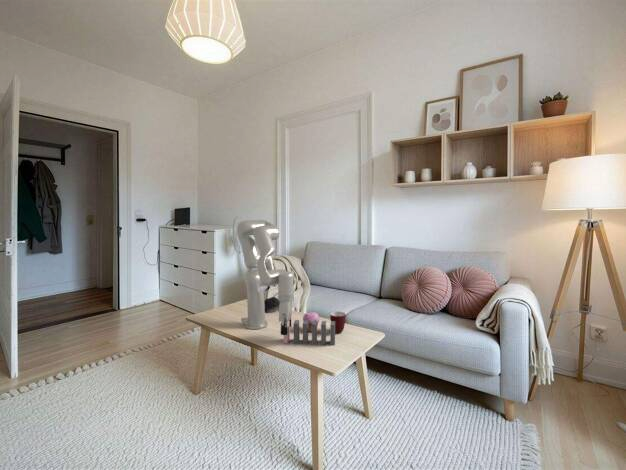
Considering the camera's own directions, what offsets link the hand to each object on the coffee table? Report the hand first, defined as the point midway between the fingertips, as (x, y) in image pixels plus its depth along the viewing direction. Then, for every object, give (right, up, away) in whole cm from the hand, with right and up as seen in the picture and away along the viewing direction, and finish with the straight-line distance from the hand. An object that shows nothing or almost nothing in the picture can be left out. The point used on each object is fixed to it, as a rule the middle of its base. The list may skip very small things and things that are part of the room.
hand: (286, 330), depth 153 cm
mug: (+27, -4, +12) cm, 30 cm away
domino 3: (+14, -5, -2) cm, 15 cm away
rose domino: (0, -5, 0) cm, 5 cm away
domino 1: (+5, -5, -1) cm, 7 cm away
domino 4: (+19, -5, -2) cm, 19 cm away
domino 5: (+23, -5, -3) cm, 24 cm away
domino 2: (+10, -5, -1) cm, 11 cm away
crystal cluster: (-14, -2, +49) cm, 51 cm away
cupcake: (+13, -4, +14) cm, 19 cm away
